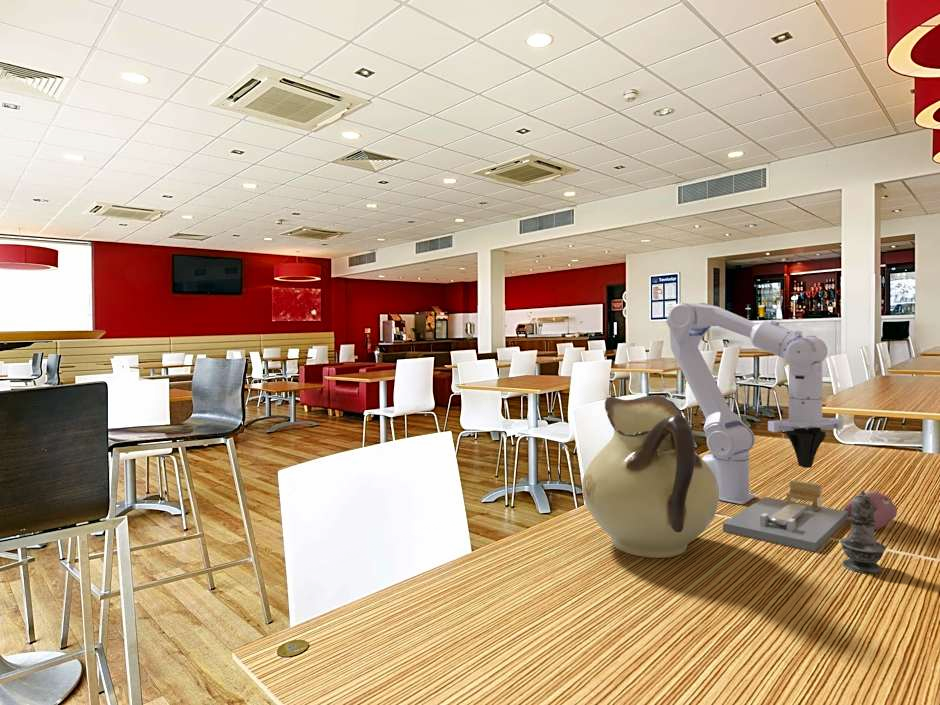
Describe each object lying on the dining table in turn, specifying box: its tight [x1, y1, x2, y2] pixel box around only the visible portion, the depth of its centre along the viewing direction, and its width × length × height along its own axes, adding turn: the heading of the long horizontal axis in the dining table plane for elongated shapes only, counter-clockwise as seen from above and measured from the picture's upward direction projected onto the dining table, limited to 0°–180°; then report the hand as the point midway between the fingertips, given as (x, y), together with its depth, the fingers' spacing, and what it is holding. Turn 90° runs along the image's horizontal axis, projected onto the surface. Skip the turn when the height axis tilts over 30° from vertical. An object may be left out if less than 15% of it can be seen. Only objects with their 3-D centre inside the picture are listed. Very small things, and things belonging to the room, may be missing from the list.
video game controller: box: [843, 490, 898, 531], centre depth 110 cm, size 10×5×7 cm, turn 168°
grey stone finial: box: [839, 489, 886, 575], centre depth 91 cm, size 6×6×12 cm
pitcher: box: [581, 395, 720, 559], centre depth 101 cm, size 22×24×25 cm
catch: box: [786, 479, 823, 511], centre depth 116 cm, size 5×3×4 cm, turn 45°
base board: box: [722, 496, 849, 553], centre depth 110 cm, size 15×22×3 cm
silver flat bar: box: [768, 503, 807, 526], centre depth 109 cm, size 3×12×1 cm, turn 135°
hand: (805, 466), depth 116 cm, fingers closed
